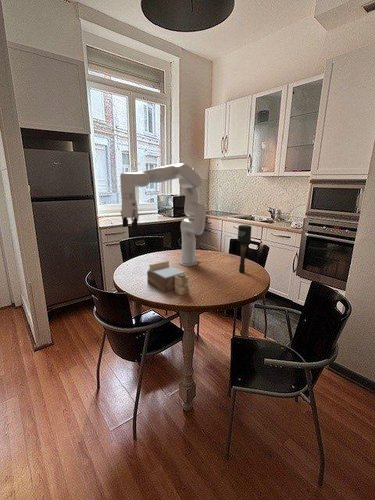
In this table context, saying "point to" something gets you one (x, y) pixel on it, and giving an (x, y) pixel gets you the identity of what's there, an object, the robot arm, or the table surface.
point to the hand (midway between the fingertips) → (130, 227)
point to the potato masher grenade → (243, 243)
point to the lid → (164, 269)
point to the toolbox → (161, 282)
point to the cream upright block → (181, 284)
